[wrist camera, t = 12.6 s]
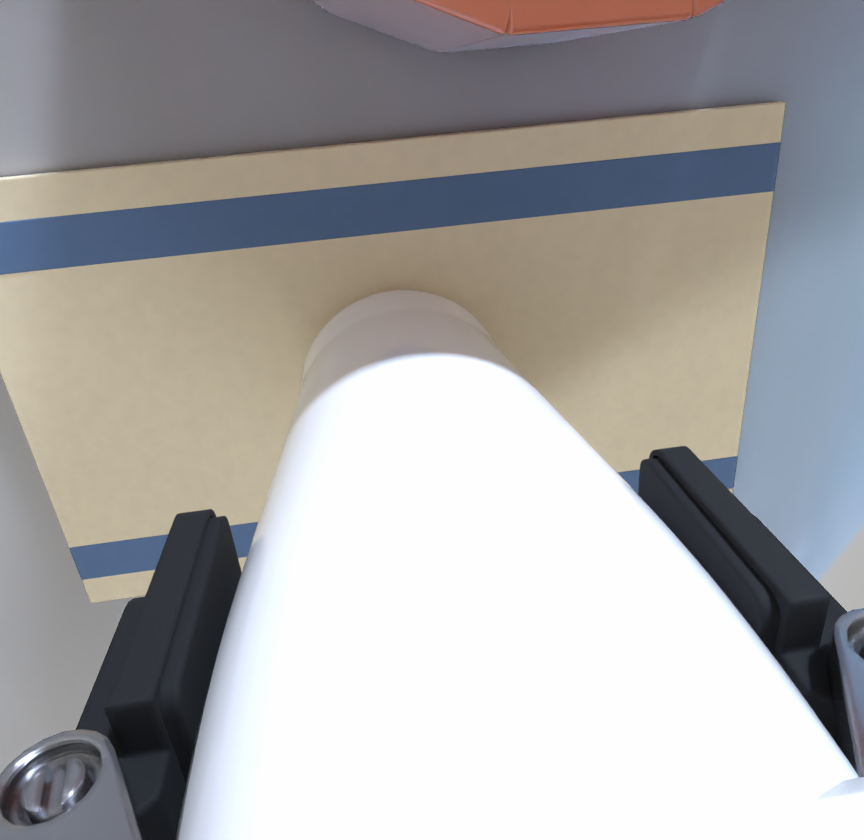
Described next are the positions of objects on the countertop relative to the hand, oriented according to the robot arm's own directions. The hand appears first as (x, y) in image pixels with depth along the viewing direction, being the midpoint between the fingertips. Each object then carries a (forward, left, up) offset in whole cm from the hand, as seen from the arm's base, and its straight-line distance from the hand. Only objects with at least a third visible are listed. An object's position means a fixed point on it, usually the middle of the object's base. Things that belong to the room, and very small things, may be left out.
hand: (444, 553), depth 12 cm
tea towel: (0, 0, -8) cm, 8 cm away
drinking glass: (0, 0, -8) cm, 8 cm away
